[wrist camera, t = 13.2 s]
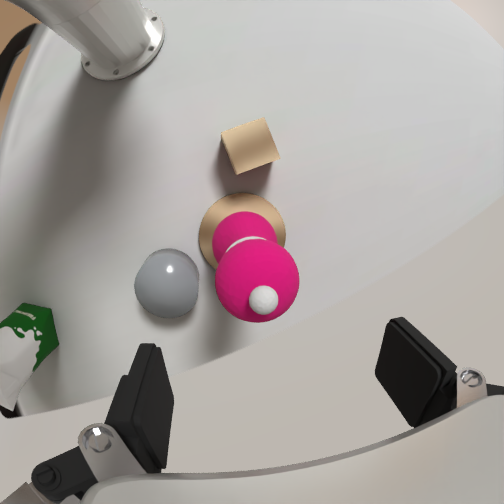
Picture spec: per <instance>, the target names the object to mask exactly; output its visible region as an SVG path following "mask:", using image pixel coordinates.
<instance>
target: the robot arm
mask: <svg viewBox="0 0 504 504" xmlns="http://www.w3.org/2000/svg"><path fill="white" fill-rule="evenodd" d="M5 1H8V2H10V3H13V4H15V5H17V6H18V7H20V8H22V9H24V10H25V11H27V12H28V13H30V14H31V15H33V16H34V17H35V18H37V19H38V20H39V21H41V22H42V23H44V24H45V25H46V26H48V27H49V28H50V29H52V30H53V31H54V32H55V33H57V34H58V35H59V36H61V37H62V38H63V39H64V40H66V41H67V42H68V43H70V44H71V45H72V46H73V47H75V48H76V49H77V50H78V51H80V52H81V61H82V65H83V67H84V69H85V70H86V71H87V72H88V73H89V74H90V75H91V76H93V77H95V78H97V79H100V80H116V79H121V78H124V77H127V76H129V75H131V74H133V73H135V72H137V71H138V70H140V69H141V68H143V67H144V66H145V65H146V64H148V63H149V62H150V61H151V60H152V59H153V58H154V56H155V55H156V54H157V52H158V51H159V49H160V48H161V45H162V43H163V41H164V36H165V28H164V25H163V22H162V20H161V18H160V17H159V15H158V14H157V13H155V12H154V11H152V10H149V9H146V8H143V6H142V4H141V2H140V0H5ZM152 50H153V51H152ZM456 368H457V366H456V365H455V364H454V363H453V362H452V361H451V360H450V359H449V358H448V357H447V356H446V355H444V354H443V353H442V352H441V351H440V350H439V349H438V348H437V347H436V346H435V345H434V344H433V343H431V342H430V341H429V340H428V339H427V338H426V337H425V336H424V335H423V334H421V332H420V331H418V330H417V329H416V328H415V327H414V326H413V325H412V324H411V323H409V322H408V321H407V320H406V319H405V318H403V317H399V318H394V319H391V320H390V321H389V323H387V325H386V328H385V333H384V337H383V342H382V345H381V349H380V354H379V357H378V361H377V365H376V369H375V375H376V378H377V379H378V381H379V382H380V383H381V385H382V386H383V388H384V389H385V391H386V392H387V393H388V395H389V396H390V398H391V399H392V400H393V402H394V403H395V405H396V406H397V408H398V409H399V411H400V412H401V414H402V415H403V417H404V418H405V419H406V421H407V422H408V424H409V425H410V426H411V427H414V429H411V430H409V431H407V432H404V433H402V434H399V435H397V436H394V437H392V438H389V439H386V440H383V441H381V442H378V443H375V444H372V445H369V446H366V447H362V448H359V449H356V450H353V451H349V452H346V453H342V454H338V455H334V456H331V457H326V458H323V459H318V460H313V461H309V462H304V463H298V464H293V465H287V466H281V467H274V468H267V469H258V470H248V471H237V472H221V473H161V469H165V468H166V465H167V455H168V445H169V437H170V429H171V421H172V413H173V406H174V396H173V392H172V389H171V386H170V382H169V378H168V374H167V371H166V367H165V363H164V359H163V355H162V351H161V348H160V347H156V345H155V344H154V343H141V344H140V345H139V348H138V350H137V353H136V356H135V358H134V361H133V363H132V366H131V369H130V371H129V374H128V375H123V376H122V378H121V380H120V382H119V385H118V387H117V390H116V393H115V395H114V398H113V401H112V404H111V406H110V409H109V412H108V415H107V417H106V420H105V423H104V424H102V423H97V424H92V425H89V426H87V427H86V428H84V429H83V430H82V431H81V433H80V435H79V437H78V444H79V446H77V447H76V448H73V449H71V450H69V451H67V452H65V453H63V454H60V455H58V456H56V457H54V458H52V459H49V460H47V461H45V462H42V463H40V464H39V465H37V466H36V467H35V468H34V470H33V472H32V477H31V479H32V482H31V483H30V484H28V483H27V482H25V483H24V484H23V485H22V486H21V487H20V488H18V489H17V490H16V491H15V492H13V493H12V494H11V495H10V496H8V497H7V498H6V499H5V500H4V501H3V502H1V503H0V504H504V387H503V386H497V385H491V384H486V380H485V377H484V375H483V374H482V373H481V372H480V371H478V370H476V369H474V368H463V369H461V370H460V371H459V372H458V374H457V373H456V372H455V370H456Z"/></svg>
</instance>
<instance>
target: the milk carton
mask: <svg viewBox="0 0 504 504" xmlns="http://www.w3.org/2000/svg"><path fill="white" fill-rule="evenodd" d="M58 345H59V342H58V338H57V334H56V330H55V325H54V321H53V316H52V311H51V309H49V308H45V307H40V306H35V305H31V304H27V303H22V304H21V305H20V306H19V307H18V308H17V309H16V310H15V311H14V312H13V313H12V314H11V315H9V316H8V317H7V318H6V319H5V320H3V321H2V322H1V323H0V405H2V406H4V407H5V408H7V409H9V410H11V411H13V410H14V407H15V404H16V401H17V398H18V395H19V393H20V390H21V389H22V387H23V386H24V384H25V383H26V382H27V380H28V379H29V378H30V376H31V375H32V374H33V372H34V371H35V370H36V368H37V367H38V366H39V365H40V363H41V362H42V361H43V360H44V359H45V358H46V357H47V356H48V355H49V354H50V353H51V352H52V351H53V350H54V349H55V348H56V347H57V346H58Z"/></svg>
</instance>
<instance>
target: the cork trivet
mask: <svg viewBox="0 0 504 504" xmlns="http://www.w3.org/2000/svg"><path fill="white" fill-rule="evenodd" d="M241 211H248V212H253V213H257V214H259V215H261V216H262V217H264V218H265V219H266V220H267V221H268V222H269V223H270V224H271V226H272V227H273V229H274V231H275V233H276V236H277V241H278V245H280V246H281V247H283V248H284V245H285V238H286V233H285V226H284V222H283V219H282V217H281V215H280V213H279V212H278V211H277V209H276V208H275V207H274V206H273V205H272V204H271V203H270V202H268V201H267V200H265V199H264V198H262V197H259V196H257V195H254V194H249V193H236V194H231V195H228V196H226V197H223V198H221V199H220V200H218V201H217V202H215V203H214V204H213V205H212V206H211V207H210V208H209V210H208V211H207V212H206V214H205V216H204V217H203V220H202V222H201V226H200V230H199V242H200V247H201V251H202V253H203V255H204V257H205V259H206V260H207V261H208V263H209V264H210V265H211V266H212V267H213V268H214V269H217V267H218V263H217V261H216V259H215V257H214V254H213V249H212V238H213V234H214V231H215V229H216V227H217V226H218V224H219V223H220V222H221V221H222V220H223V219H224V218H226V217H227V216H229V215H231V214H233V213H236V212H241Z"/></svg>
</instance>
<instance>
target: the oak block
mask: <svg viewBox="0 0 504 504" xmlns="http://www.w3.org/2000/svg"><path fill="white" fill-rule="evenodd" d="M221 139H222V142H223V144H224V147H225V149H226V152H227V154H228V157H229V159H230V162H231V164H232V167H233V169H234V172H235V174H236V175H238V174H240V173H243V172H245V171H248V170H251V169H253V168H256V167H259V166H261V165H264V164H267V163H270V162H272V161H275V160H278V159H281V158H280V156H279V153H278V151H277V148H276V146H275V143H274V141H273V138H272V136H271V133H270V131H269V128H268V126H267V123H266V121H265V118H264V117H263V118H260V119H257V120H254V121H251V122H249V123H246V124H243V125H240V126H237V127H234V128H232V129H229V130H226V131H224V132H221Z"/></svg>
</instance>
